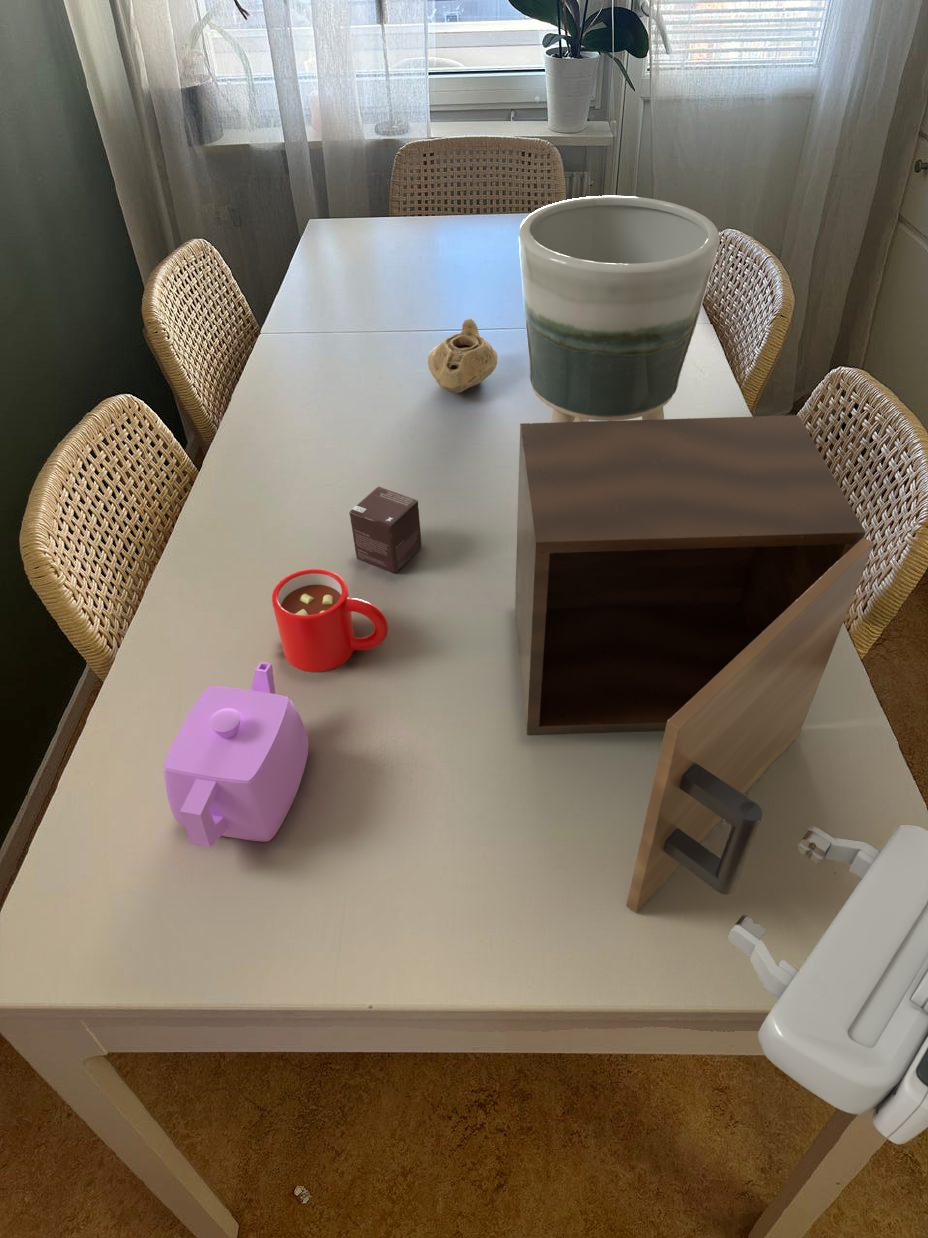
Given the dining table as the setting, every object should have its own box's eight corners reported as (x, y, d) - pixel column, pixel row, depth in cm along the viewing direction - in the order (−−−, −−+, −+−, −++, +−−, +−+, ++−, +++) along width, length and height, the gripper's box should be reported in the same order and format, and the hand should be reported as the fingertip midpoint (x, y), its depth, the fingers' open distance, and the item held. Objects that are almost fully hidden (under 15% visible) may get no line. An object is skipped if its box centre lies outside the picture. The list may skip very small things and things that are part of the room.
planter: (708, 502, 113) (763, 243, 90) (564, 550, 107) (584, 283, 84) (617, 424, 127) (645, 183, 104) (485, 462, 121) (484, 214, 98)
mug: (384, 678, 92) (378, 624, 86) (275, 668, 93) (261, 615, 88) (398, 626, 97) (392, 573, 92) (294, 618, 99) (283, 565, 93)
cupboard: (792, 726, 86) (866, 532, 69) (526, 734, 86) (535, 542, 69) (745, 603, 99) (798, 414, 82) (514, 610, 99) (520, 423, 82)
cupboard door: (854, 768, 82) (948, 575, 65) (694, 961, 69) (759, 782, 52) (790, 728, 86) (863, 536, 69) (625, 906, 72) (666, 721, 56)
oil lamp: (426, 407, 132) (423, 359, 126) (430, 361, 143) (428, 314, 137) (498, 407, 132) (498, 358, 126) (496, 360, 143) (497, 313, 137)
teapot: (233, 705, 89) (211, 635, 82) (330, 720, 88) (317, 649, 81) (154, 858, 77) (121, 791, 70) (267, 878, 75) (244, 811, 68)
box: (423, 548, 107) (420, 499, 102) (395, 575, 104) (390, 526, 99) (383, 532, 110) (378, 484, 105) (354, 558, 106) (347, 510, 101)
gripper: (1052, 881, 57) (852, 764, 64) (920, 1134, 46) (698, 961, 53) (1012, 927, 61) (829, 813, 68) (883, 1168, 51) (683, 1004, 58)
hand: (770, 880), depth 61 cm, fingers open, 8 cm apart
